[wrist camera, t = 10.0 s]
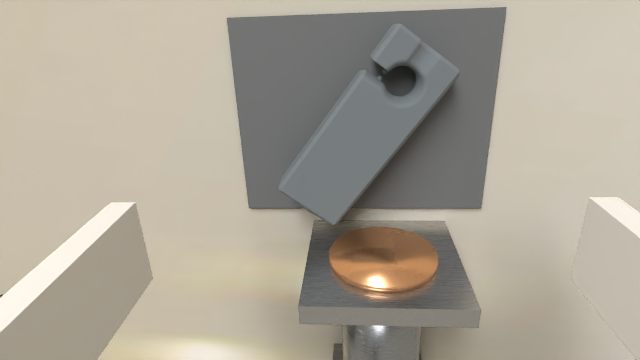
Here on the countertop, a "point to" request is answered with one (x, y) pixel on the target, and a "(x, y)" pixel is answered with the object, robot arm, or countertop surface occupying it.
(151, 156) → the countertop surface
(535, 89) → the countertop surface
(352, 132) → the bracket
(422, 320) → the pipe fixture
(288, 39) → the mount pad
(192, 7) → the countertop surface
